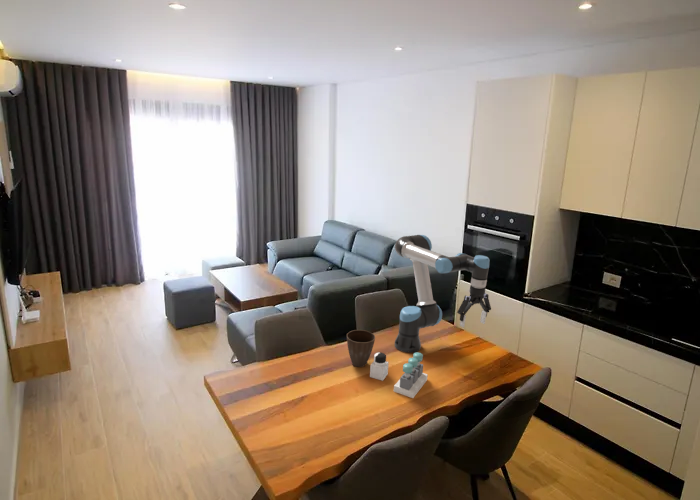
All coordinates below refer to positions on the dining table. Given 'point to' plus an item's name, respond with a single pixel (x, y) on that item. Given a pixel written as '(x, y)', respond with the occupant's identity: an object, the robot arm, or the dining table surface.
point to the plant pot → (360, 346)
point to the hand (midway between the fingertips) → (472, 324)
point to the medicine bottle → (379, 367)
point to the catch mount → (411, 383)
